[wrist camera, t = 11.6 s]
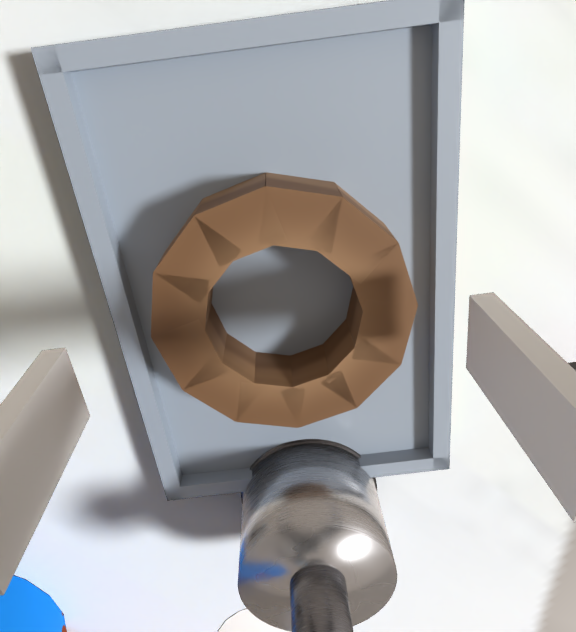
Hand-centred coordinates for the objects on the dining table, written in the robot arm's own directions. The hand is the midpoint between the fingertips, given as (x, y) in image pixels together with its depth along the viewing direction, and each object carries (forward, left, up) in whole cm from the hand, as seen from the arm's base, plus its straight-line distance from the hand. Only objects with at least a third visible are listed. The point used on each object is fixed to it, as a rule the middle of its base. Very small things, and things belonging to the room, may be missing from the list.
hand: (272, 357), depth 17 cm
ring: (0, 0, -5) cm, 5 cm away
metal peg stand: (+8, -8, -6) cm, 13 cm away
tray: (0, 0, -6) cm, 6 cm away
